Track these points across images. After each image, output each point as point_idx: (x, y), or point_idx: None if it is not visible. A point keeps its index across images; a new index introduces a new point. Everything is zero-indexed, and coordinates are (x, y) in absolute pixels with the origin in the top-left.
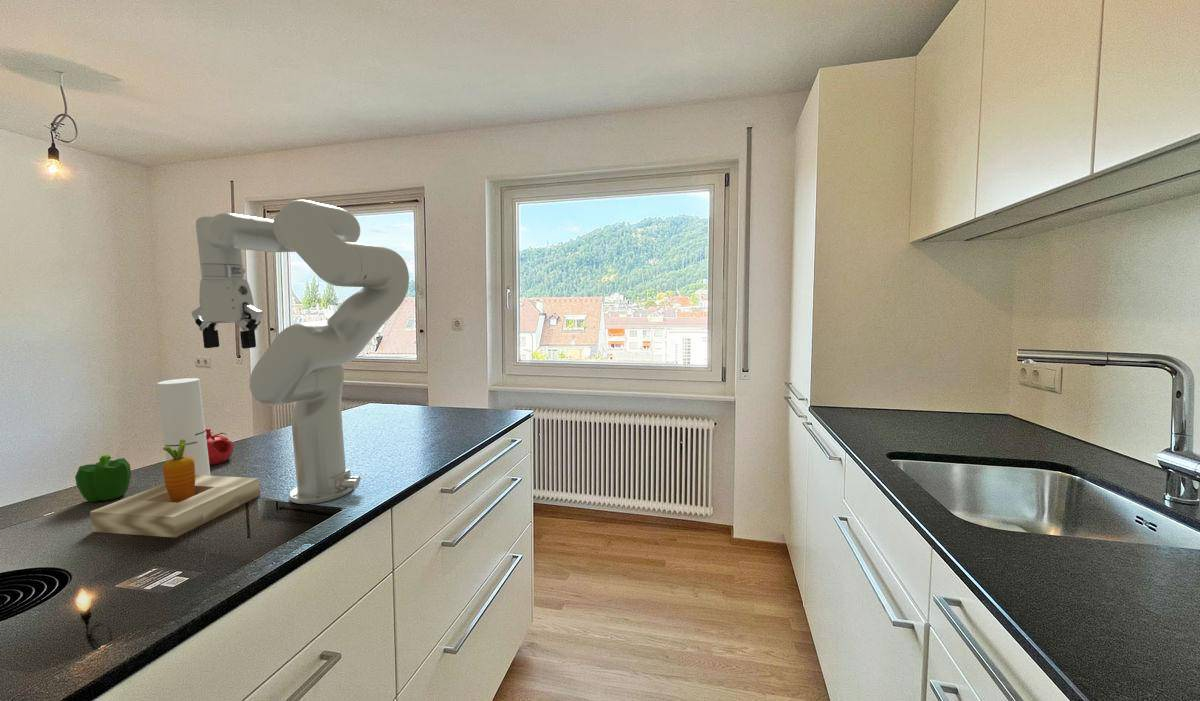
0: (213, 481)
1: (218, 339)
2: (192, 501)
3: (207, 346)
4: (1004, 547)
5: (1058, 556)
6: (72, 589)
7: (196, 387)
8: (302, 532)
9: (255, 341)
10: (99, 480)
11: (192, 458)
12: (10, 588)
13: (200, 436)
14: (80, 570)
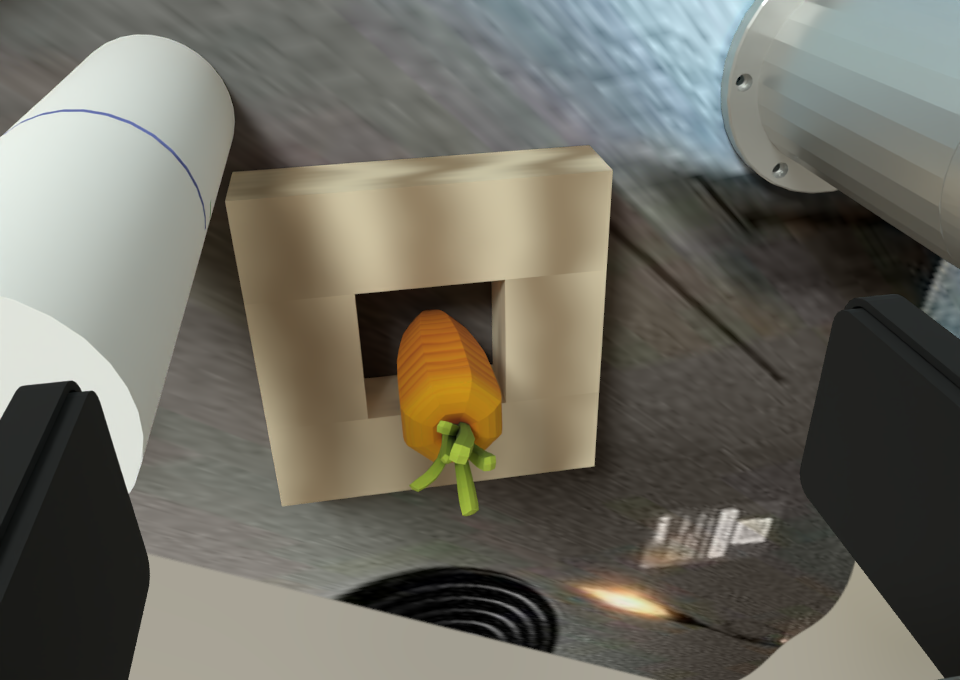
0: (442, 239)
1: (53, 480)
2: (548, 387)
3: (144, 584)
4: None
5: None
6: (566, 594)
7: (139, 347)
8: None
9: (951, 337)
10: None
11: (477, 387)
12: (431, 623)
13: (201, 188)
14: (499, 560)
